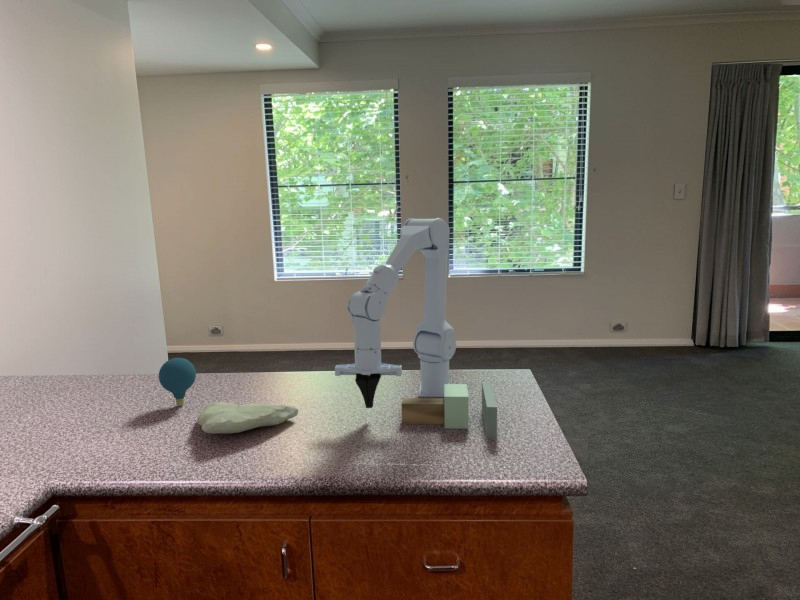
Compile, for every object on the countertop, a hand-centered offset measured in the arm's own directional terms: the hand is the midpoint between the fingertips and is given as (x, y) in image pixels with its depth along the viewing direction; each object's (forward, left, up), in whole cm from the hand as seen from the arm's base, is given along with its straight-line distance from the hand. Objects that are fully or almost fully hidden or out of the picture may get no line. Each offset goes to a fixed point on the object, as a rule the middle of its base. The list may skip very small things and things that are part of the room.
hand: (369, 406), depth 119 cm
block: (0, +19, -3) cm, 19 cm away
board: (+1, +26, -3) cm, 26 cm away
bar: (0, +13, -4) cm, 14 cm away
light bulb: (-8, -48, -4) cm, 49 cm away
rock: (+5, -29, -4) cm, 30 cm away
